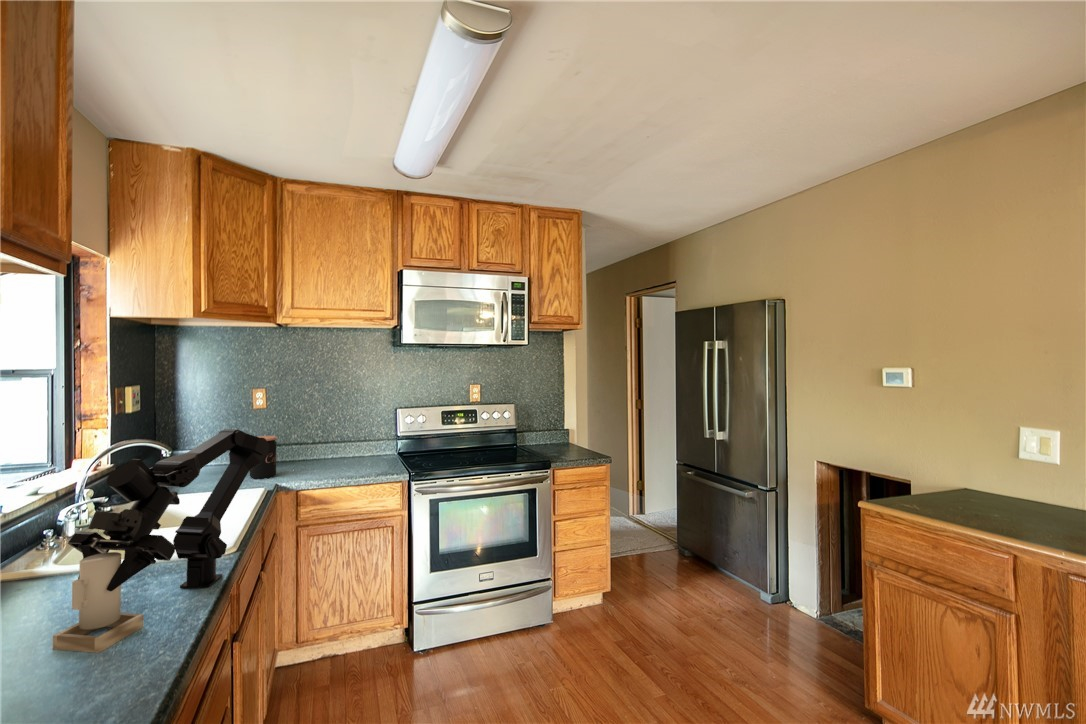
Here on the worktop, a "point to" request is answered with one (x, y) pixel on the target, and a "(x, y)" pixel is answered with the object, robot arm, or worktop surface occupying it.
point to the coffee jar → (266, 461)
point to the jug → (97, 591)
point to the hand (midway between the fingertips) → (93, 589)
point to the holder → (80, 641)
